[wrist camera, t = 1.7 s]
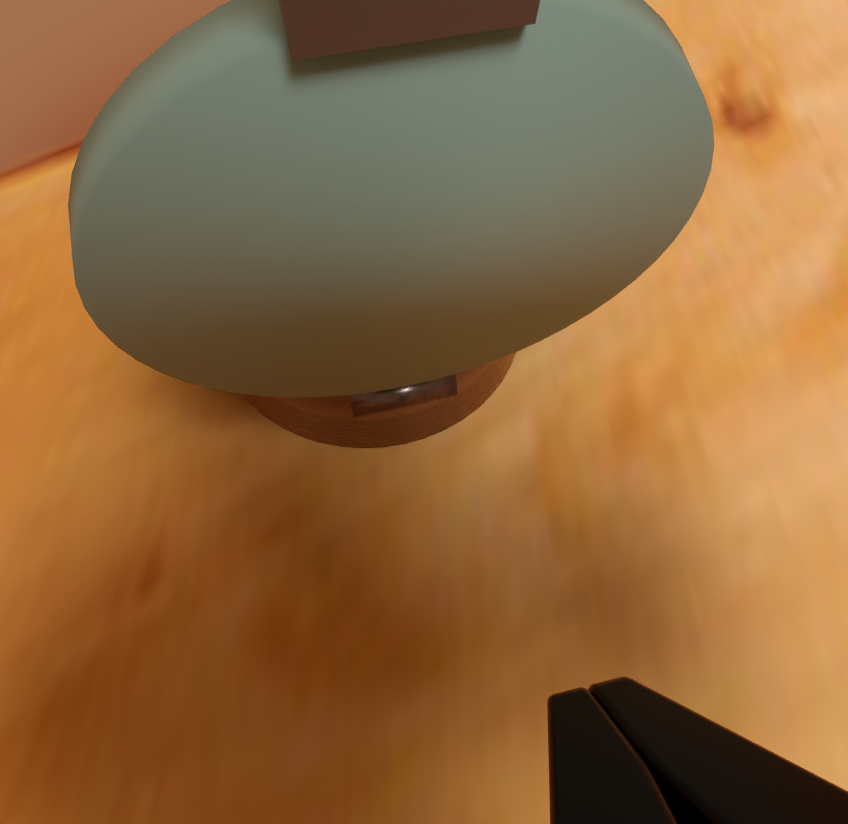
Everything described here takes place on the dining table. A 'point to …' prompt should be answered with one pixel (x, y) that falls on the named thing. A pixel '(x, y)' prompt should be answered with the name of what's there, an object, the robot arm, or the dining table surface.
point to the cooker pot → (386, 409)
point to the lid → (381, 186)
